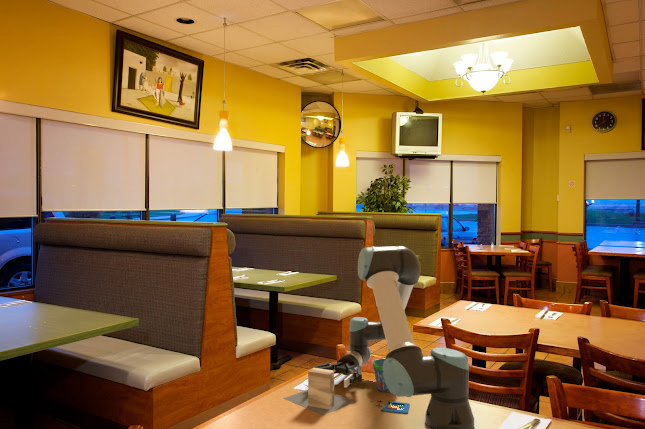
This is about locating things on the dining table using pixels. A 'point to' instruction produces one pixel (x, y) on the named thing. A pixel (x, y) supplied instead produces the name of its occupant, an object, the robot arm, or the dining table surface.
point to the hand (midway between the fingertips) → (327, 380)
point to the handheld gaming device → (389, 409)
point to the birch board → (321, 388)
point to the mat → (303, 401)
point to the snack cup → (380, 375)
